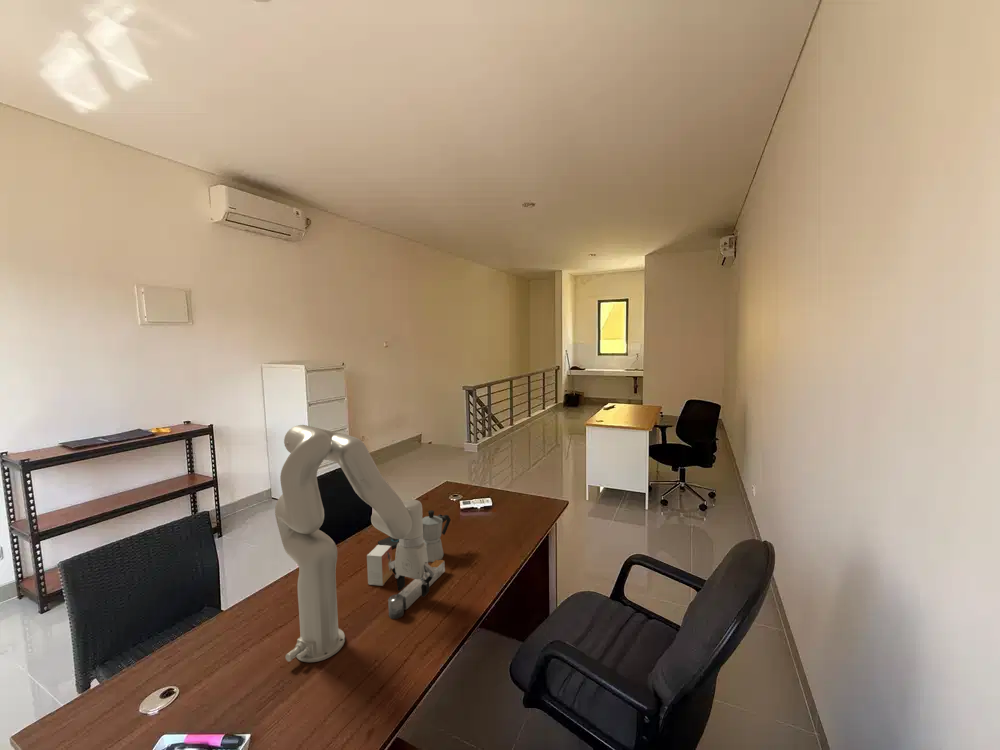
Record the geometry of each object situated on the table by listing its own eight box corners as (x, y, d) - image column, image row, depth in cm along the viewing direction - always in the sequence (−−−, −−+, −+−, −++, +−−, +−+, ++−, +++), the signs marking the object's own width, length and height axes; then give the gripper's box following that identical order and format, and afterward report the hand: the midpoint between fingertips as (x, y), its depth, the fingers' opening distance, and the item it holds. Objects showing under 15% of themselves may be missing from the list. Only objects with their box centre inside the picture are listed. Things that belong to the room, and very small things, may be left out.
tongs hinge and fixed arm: (397, 620, 128) (397, 604, 128) (385, 617, 130) (385, 601, 129) (446, 572, 154) (445, 559, 154) (435, 570, 156) (435, 556, 155)
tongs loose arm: (406, 609, 133) (405, 597, 132) (402, 608, 133) (401, 595, 133) (444, 571, 154) (444, 560, 154) (440, 570, 155) (440, 559, 154)
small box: (382, 586, 146) (381, 556, 145) (367, 584, 147) (366, 555, 146) (393, 573, 154) (392, 545, 153) (378, 572, 155) (377, 544, 154)
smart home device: (377, 541, 177) (417, 525, 191) (377, 545, 177) (418, 529, 191) (387, 547, 171) (429, 530, 185) (388, 551, 171) (429, 534, 185)
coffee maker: (424, 566, 158) (422, 519, 156) (412, 558, 165) (410, 512, 163) (457, 553, 168) (456, 508, 166) (444, 545, 174) (443, 502, 173)
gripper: (381, 540, 138) (383, 592, 139) (428, 549, 131) (430, 604, 132) (396, 530, 144) (398, 580, 146) (440, 539, 138) (442, 590, 139)
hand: (413, 591), depth 139 cm, fingers open, 8 cm apart
